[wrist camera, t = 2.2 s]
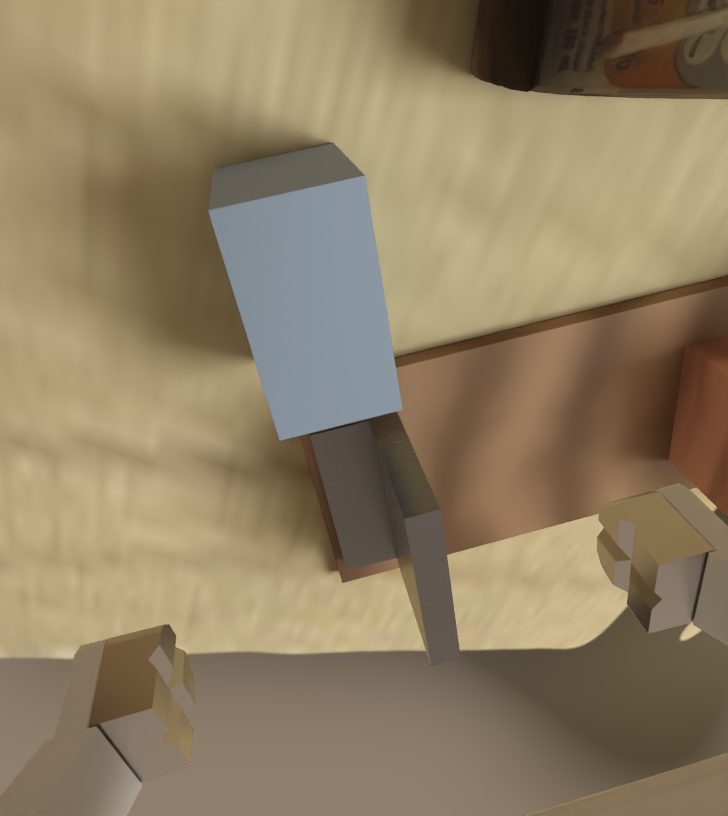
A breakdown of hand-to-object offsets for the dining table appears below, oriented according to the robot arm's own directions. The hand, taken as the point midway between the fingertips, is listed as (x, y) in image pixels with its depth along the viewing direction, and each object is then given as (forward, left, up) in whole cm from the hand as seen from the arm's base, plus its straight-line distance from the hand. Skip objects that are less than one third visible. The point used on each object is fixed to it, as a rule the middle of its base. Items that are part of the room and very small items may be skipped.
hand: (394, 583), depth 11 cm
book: (0, 0, -19) cm, 19 cm away
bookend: (-1, +13, -18) cm, 22 cm away
